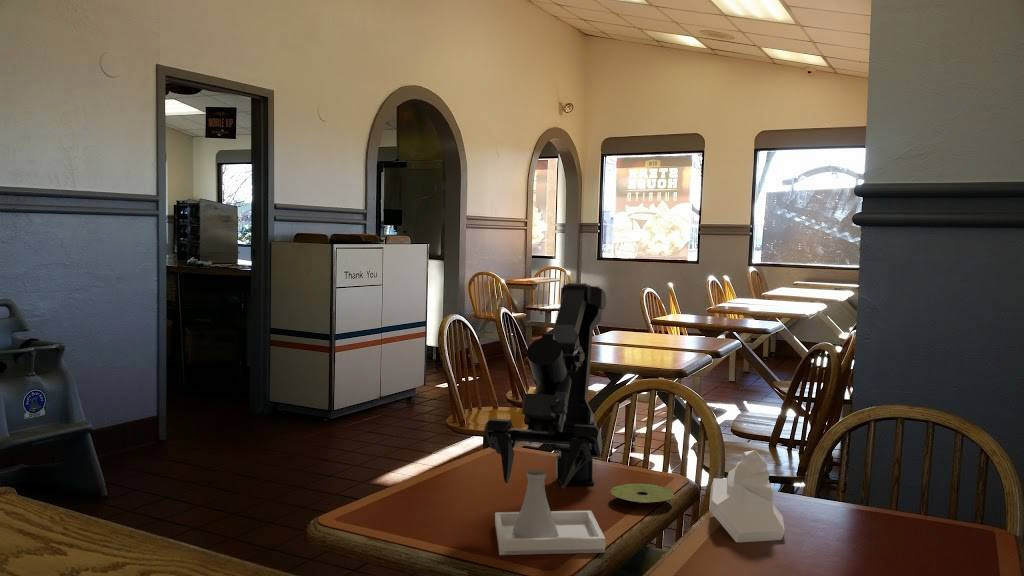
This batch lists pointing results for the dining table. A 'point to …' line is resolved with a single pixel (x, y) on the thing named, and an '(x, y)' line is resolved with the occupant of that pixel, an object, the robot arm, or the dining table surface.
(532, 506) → the flask
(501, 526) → the tray
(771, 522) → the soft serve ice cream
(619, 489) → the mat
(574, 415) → the robot arm
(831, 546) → the dining table surface
